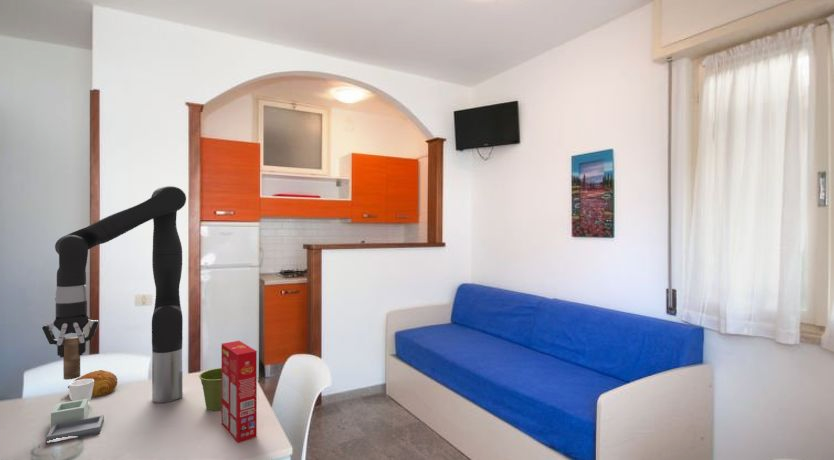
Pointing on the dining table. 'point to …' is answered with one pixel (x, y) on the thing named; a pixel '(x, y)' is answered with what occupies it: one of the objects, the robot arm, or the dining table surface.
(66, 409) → the pot
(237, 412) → the food packaging
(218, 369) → the plant pot
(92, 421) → the tray
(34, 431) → the dining table surface
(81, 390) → the cup
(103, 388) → the croissant
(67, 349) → the wooden dowel
